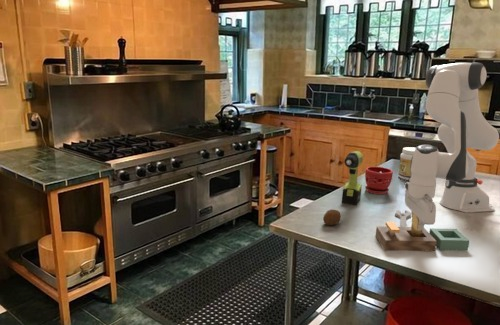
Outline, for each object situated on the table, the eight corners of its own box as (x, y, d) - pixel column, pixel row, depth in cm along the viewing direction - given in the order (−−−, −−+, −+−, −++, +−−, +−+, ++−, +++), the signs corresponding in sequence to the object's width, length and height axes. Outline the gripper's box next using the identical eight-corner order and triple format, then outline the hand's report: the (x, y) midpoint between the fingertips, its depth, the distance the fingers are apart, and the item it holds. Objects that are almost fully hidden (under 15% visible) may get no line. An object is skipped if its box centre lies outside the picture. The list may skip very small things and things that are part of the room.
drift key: (392, 237, 155) (393, 222, 153) (398, 245, 148) (399, 229, 146) (384, 236, 155) (385, 221, 153) (389, 245, 148) (391, 229, 146)
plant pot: (387, 197, 200) (390, 174, 197) (361, 193, 206) (362, 170, 203) (393, 190, 211) (395, 168, 208) (367, 186, 217) (369, 164, 214)
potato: (343, 221, 171) (344, 207, 169) (335, 229, 163) (336, 215, 161) (328, 218, 174) (329, 204, 173) (320, 226, 166) (321, 212, 165)
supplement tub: (394, 175, 237) (397, 146, 233) (414, 174, 238) (417, 146, 234) (404, 181, 225) (407, 151, 221) (424, 180, 227) (428, 151, 222)
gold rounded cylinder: (418, 241, 153) (422, 211, 150) (422, 246, 149) (426, 215, 146) (407, 241, 153) (411, 211, 150) (411, 245, 150) (415, 215, 146)
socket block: (422, 236, 157) (423, 227, 156) (435, 251, 145) (436, 241, 144) (375, 235, 158) (376, 226, 156) (384, 250, 146) (385, 240, 145)
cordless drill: (352, 213, 180) (356, 158, 173) (336, 210, 183) (339, 156, 176) (361, 197, 200) (365, 147, 194) (347, 195, 203) (350, 146, 196)
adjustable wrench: (406, 237, 158) (406, 233, 157) (388, 234, 160) (389, 230, 160) (411, 214, 180) (411, 211, 179) (395, 212, 182) (396, 208, 182)
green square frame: (455, 238, 156) (456, 228, 155) (467, 250, 146) (469, 240, 145) (428, 238, 156) (430, 228, 155) (439, 250, 146) (441, 240, 145)
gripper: (443, 200, 136) (437, 238, 139) (420, 181, 156) (415, 215, 159) (424, 200, 136) (419, 238, 140) (403, 181, 156) (399, 215, 159)
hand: (417, 225), depth 150 cm, fingers closed on gold rounded cylinder, 4 cm apart
